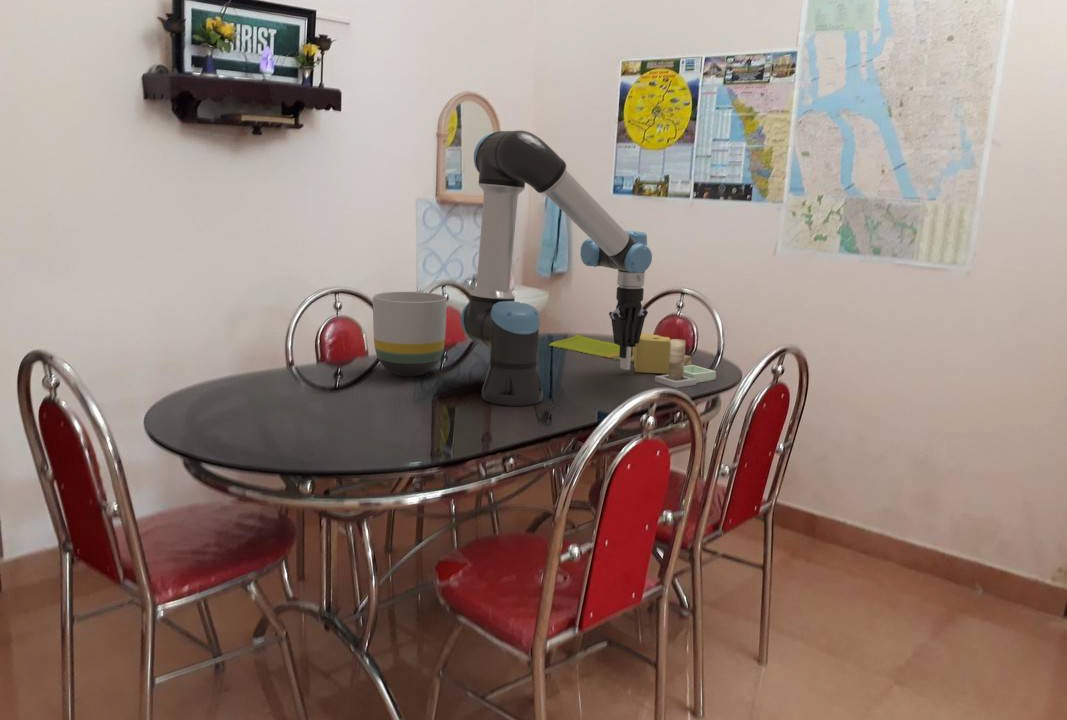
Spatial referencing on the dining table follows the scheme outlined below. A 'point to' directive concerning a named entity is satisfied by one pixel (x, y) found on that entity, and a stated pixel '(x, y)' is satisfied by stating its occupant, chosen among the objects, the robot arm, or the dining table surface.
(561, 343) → the dish towel
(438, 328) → the planter
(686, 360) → the stop block
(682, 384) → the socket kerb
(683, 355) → the dowel
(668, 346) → the cheese
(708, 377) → the tray
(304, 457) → the dining table surface
